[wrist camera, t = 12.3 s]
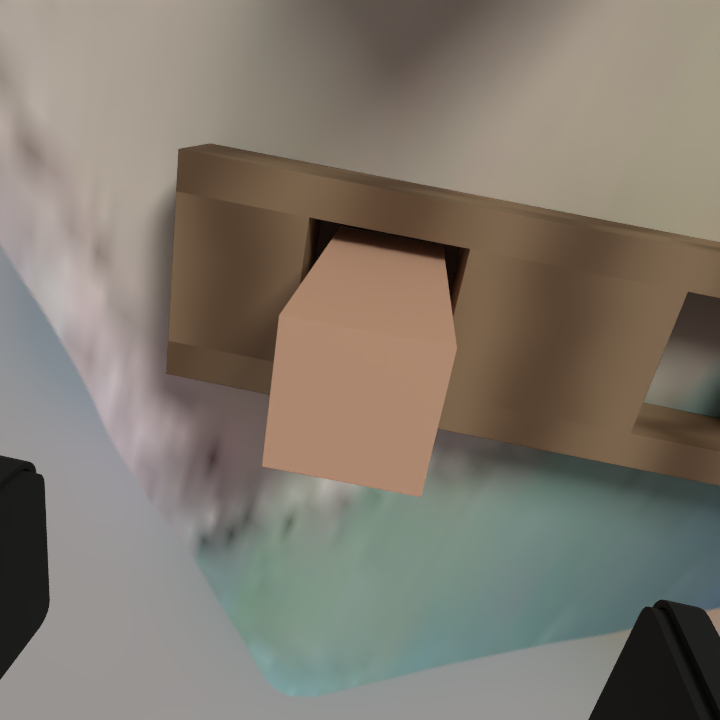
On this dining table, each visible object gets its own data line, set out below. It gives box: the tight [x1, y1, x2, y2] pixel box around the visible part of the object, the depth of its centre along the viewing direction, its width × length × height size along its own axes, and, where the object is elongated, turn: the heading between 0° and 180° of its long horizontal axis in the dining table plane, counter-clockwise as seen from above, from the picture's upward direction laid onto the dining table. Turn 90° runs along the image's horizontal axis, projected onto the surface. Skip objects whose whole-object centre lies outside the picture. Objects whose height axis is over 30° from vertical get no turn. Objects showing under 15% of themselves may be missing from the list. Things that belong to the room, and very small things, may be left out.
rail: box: [166, 144, 720, 486], centre depth 25 cm, size 30×9×4 cm, turn 80°
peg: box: [262, 227, 457, 497], centre depth 21 cm, size 4×4×12 cm
